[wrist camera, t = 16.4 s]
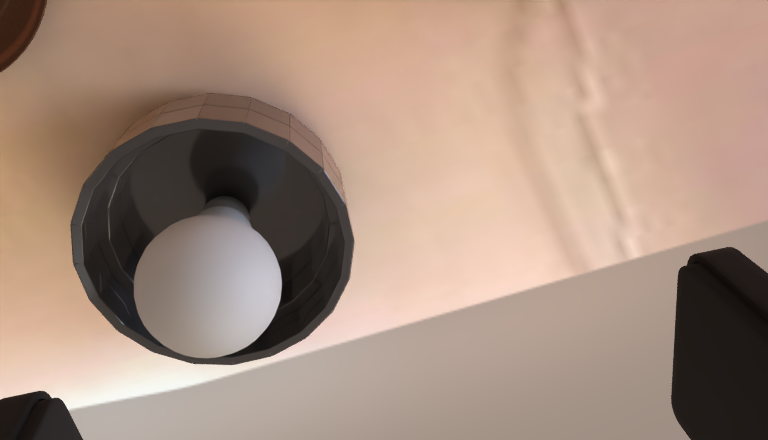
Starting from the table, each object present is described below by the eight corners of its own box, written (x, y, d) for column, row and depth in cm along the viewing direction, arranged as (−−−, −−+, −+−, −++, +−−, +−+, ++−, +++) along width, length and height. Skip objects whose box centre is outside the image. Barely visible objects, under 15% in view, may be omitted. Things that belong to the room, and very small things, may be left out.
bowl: (64, 119, 33) (23, 154, 28) (316, 66, 33) (320, 91, 28) (150, 328, 38) (128, 389, 33) (364, 280, 39) (375, 333, 34)
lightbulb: (172, 262, 36) (126, 391, 26) (163, 157, 33) (108, 255, 23) (284, 261, 37) (280, 386, 27) (283, 158, 34) (280, 254, 24)
